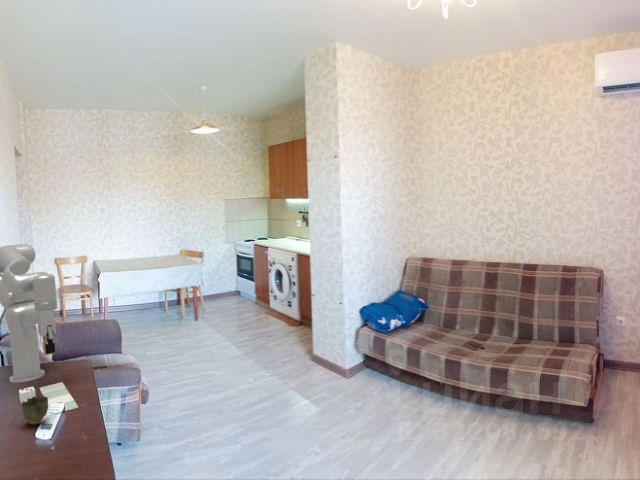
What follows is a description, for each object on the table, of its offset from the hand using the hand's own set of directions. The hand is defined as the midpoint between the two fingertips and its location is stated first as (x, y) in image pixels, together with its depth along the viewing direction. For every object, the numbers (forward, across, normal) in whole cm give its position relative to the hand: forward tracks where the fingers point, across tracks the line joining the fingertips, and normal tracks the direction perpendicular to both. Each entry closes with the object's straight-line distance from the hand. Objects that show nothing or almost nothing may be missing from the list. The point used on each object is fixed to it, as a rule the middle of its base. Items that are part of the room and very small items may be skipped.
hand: (49, 351), depth 173 cm
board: (+15, +11, 0) cm, 19 cm away
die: (+15, +7, -9) cm, 19 cm away
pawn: (+1, 0, 0) cm, 1 cm away
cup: (+15, +29, -9) cm, 34 cm away
